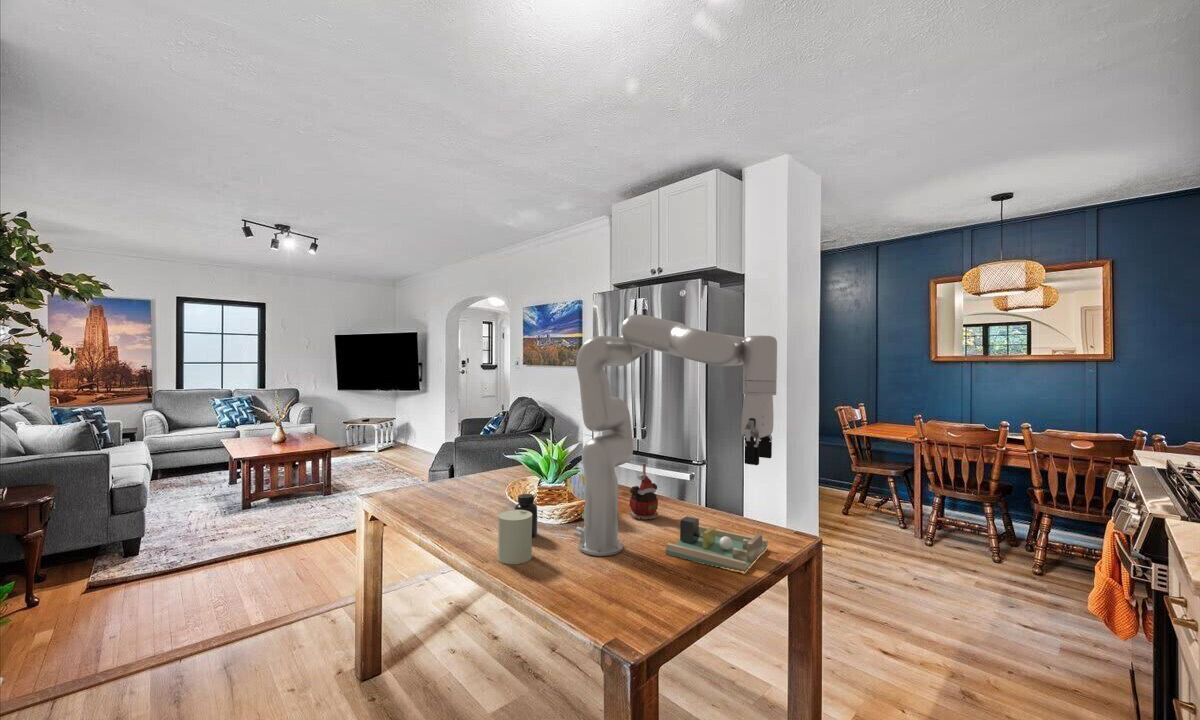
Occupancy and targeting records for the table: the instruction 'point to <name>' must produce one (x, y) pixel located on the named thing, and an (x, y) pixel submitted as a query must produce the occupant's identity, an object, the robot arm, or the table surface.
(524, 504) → the supplement bottle
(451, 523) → the table surface
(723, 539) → the ball
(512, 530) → the can
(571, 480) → the snack box
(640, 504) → the santa hat candy apple
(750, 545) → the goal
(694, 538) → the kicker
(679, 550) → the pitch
